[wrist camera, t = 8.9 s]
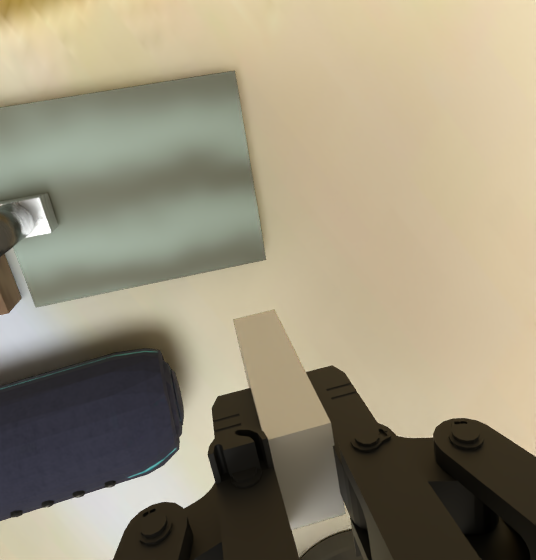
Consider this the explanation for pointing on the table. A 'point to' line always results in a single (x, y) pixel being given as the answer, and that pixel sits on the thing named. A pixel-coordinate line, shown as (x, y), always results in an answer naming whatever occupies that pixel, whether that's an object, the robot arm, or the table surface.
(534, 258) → the table surface
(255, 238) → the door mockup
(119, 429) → the portable speaker
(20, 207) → the grey piece
